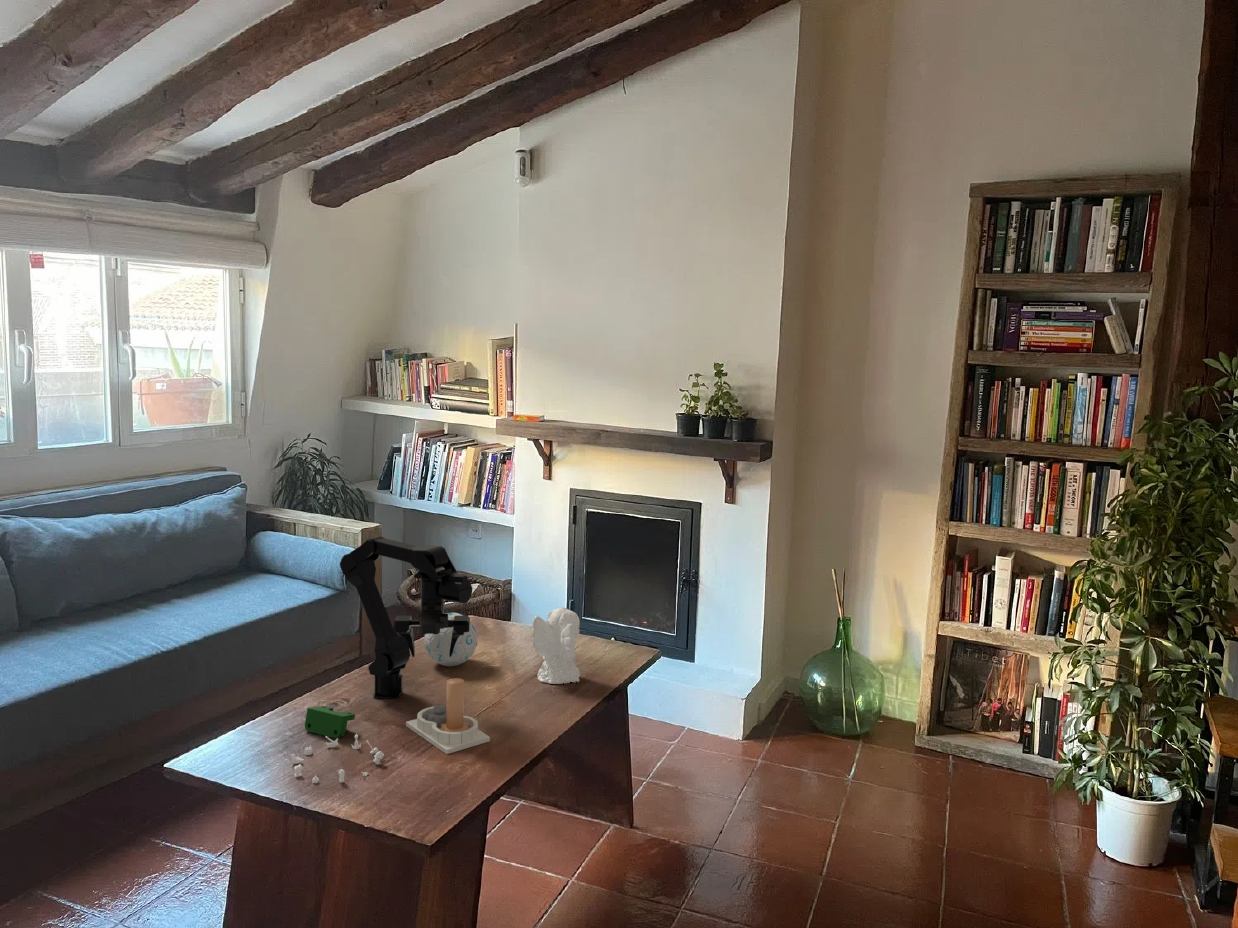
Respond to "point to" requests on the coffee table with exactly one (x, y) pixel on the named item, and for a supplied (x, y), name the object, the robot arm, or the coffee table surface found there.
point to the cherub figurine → (557, 646)
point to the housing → (443, 740)
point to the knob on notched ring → (455, 707)
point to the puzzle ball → (441, 643)
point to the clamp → (327, 721)
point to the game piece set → (309, 750)
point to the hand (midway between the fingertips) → (432, 656)
